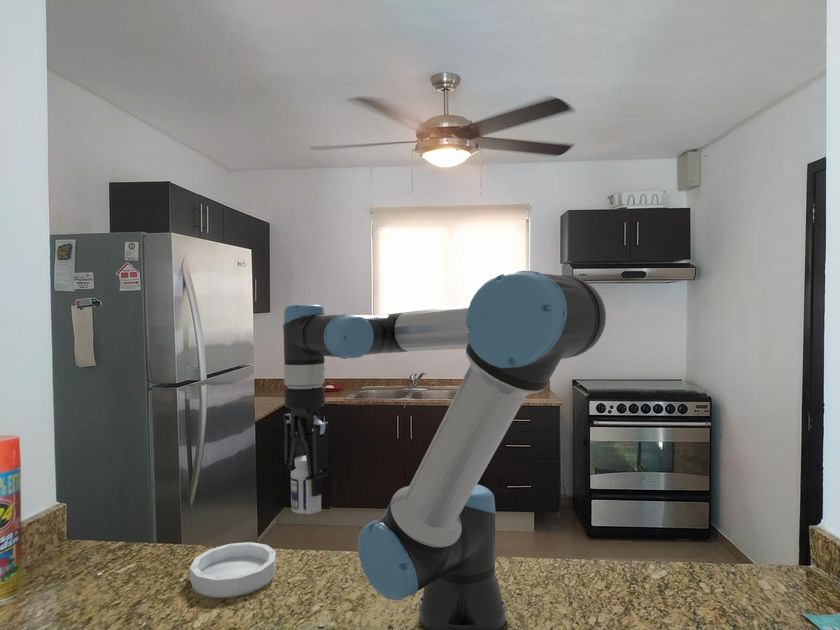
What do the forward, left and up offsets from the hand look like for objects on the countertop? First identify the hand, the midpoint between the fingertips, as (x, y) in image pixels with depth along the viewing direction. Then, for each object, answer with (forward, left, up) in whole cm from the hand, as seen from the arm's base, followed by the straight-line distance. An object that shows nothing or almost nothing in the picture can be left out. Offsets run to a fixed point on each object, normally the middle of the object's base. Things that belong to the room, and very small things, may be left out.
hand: (305, 507), depth 103 cm
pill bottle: (0, 0, -1) cm, 1 cm away
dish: (+15, +8, -16) cm, 24 cm away
